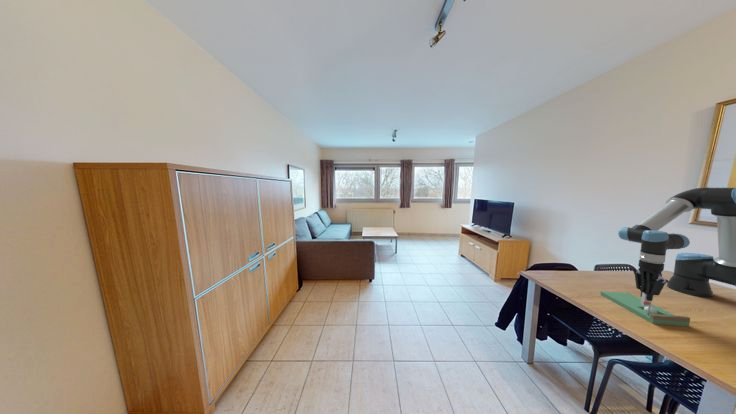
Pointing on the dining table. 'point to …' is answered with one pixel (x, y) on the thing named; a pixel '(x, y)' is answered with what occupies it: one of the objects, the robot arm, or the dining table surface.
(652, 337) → the dining table surface
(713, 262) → the robot arm
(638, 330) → the dining table surface
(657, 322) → the green
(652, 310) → the ball
